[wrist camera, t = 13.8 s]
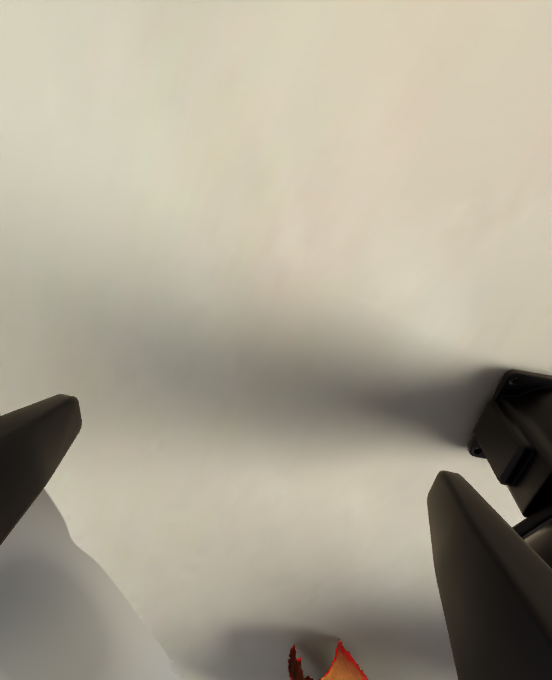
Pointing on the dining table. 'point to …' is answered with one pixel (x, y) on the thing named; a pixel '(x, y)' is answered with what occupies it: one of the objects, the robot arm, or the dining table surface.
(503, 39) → the dining table surface
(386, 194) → the dining table surface
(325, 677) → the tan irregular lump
